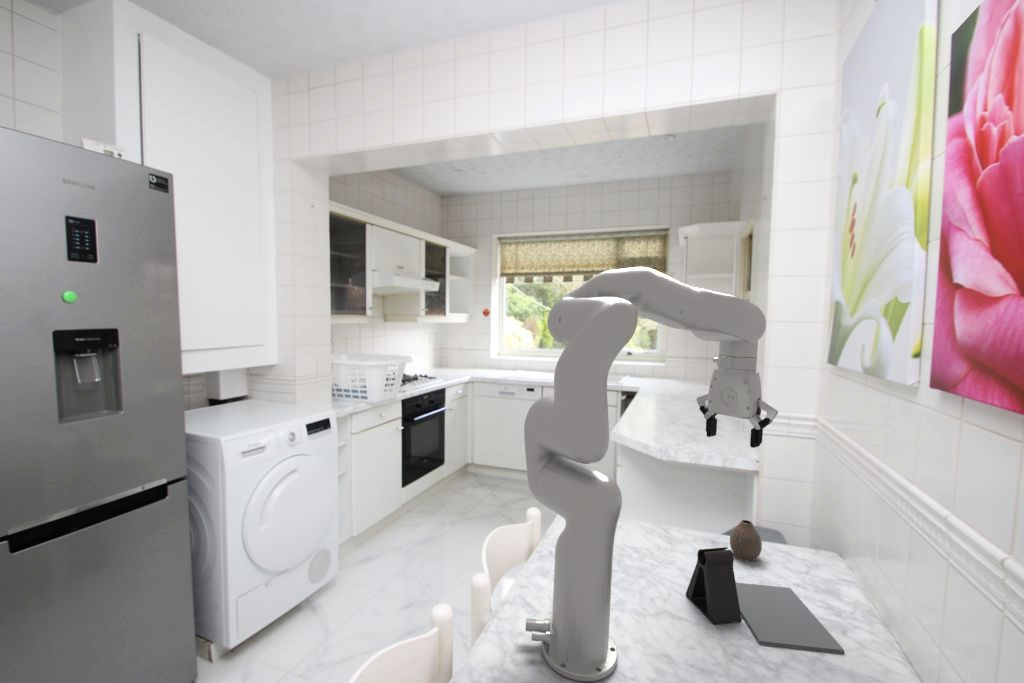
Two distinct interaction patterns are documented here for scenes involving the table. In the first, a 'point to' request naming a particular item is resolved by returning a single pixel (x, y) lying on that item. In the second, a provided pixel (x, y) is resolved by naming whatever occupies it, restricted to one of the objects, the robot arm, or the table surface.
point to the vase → (745, 541)
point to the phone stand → (715, 586)
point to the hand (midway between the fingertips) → (732, 441)
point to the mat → (782, 619)
